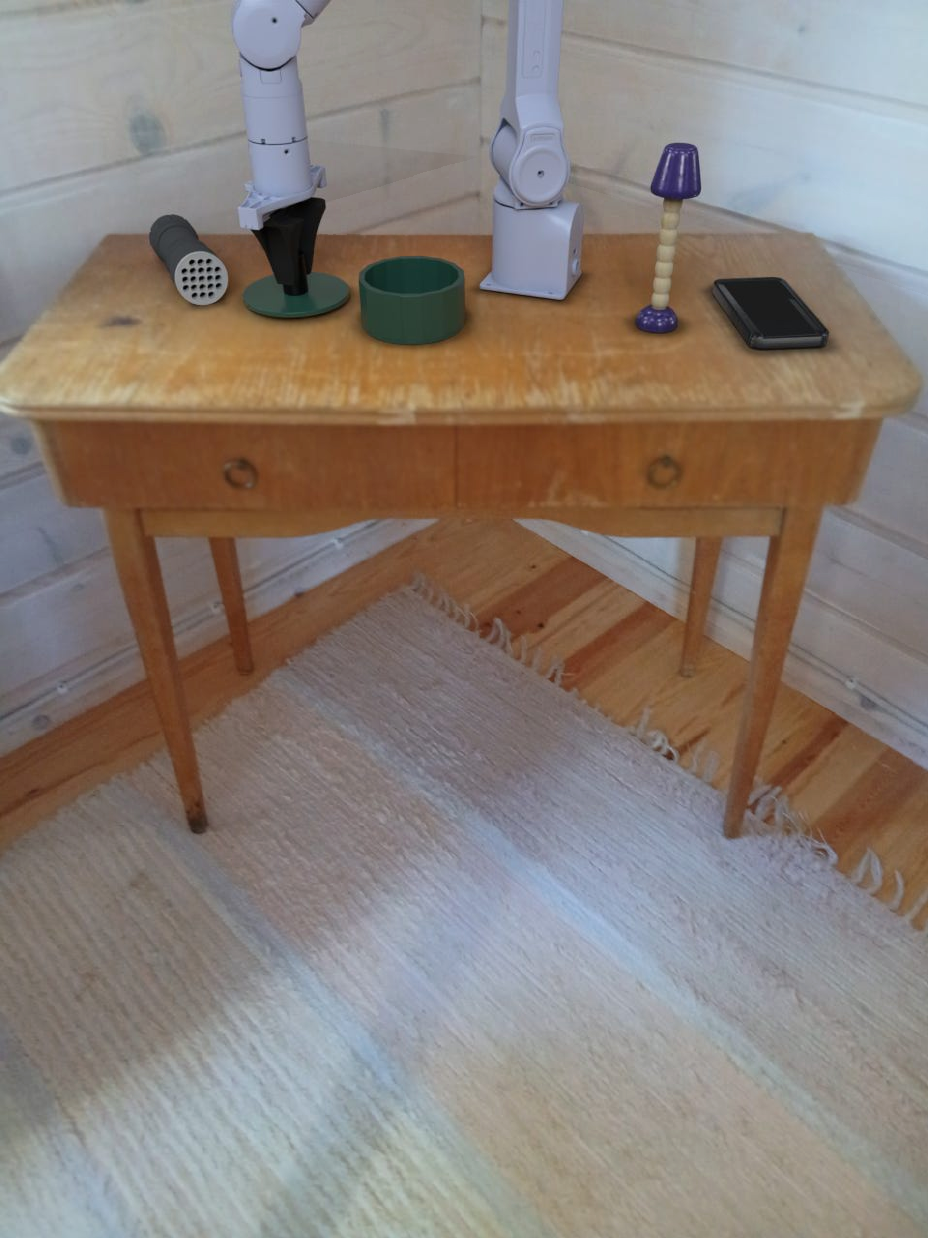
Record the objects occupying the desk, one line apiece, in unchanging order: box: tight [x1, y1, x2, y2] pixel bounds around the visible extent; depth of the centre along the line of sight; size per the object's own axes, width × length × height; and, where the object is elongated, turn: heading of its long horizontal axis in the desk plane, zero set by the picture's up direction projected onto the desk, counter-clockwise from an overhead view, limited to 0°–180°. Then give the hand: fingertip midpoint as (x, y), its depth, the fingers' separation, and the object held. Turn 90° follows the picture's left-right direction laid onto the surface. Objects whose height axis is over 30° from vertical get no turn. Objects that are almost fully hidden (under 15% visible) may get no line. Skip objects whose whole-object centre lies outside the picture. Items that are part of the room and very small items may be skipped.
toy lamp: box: [634, 142, 702, 334], centre depth 91 cm, size 5×5×17 cm
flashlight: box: [148, 213, 229, 306], centre depth 104 cm, size 15×5×5 cm, turn 26°
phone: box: [711, 276, 830, 350], centre depth 97 cm, size 8×1×15 cm
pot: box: [358, 255, 466, 346], centre depth 96 cm, size 10×10×5 cm
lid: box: [242, 249, 350, 318], centre depth 100 cm, size 11×11×5 cm
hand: (294, 277), depth 100 cm, fingers closed on lid, 2 cm apart
